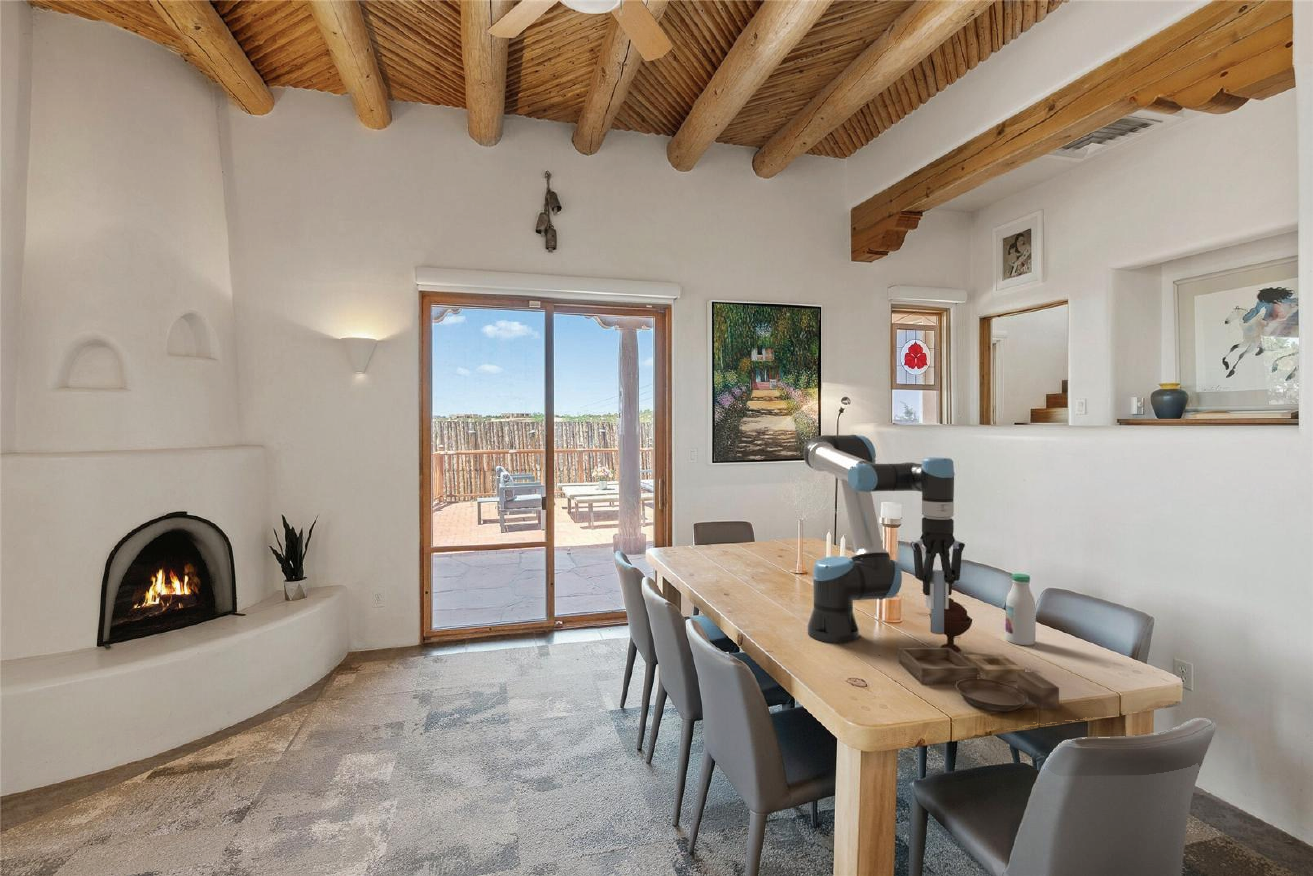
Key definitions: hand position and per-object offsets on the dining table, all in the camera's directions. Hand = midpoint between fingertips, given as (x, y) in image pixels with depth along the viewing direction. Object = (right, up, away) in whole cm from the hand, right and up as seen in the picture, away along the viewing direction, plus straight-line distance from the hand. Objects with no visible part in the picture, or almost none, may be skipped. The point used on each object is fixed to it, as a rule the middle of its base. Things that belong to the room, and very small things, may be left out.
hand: (937, 607), depth 160 cm
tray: (0, -17, +1) cm, 17 cm away
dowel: (0, -7, 0) cm, 7 cm away
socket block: (+15, -17, 0) cm, 23 cm away
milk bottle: (+36, -17, +24) cm, 46 cm away
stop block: (+16, -18, -16) cm, 29 cm away
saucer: (+5, -18, -16) cm, 24 cm away
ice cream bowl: (+12, -17, +17) cm, 27 cm away
